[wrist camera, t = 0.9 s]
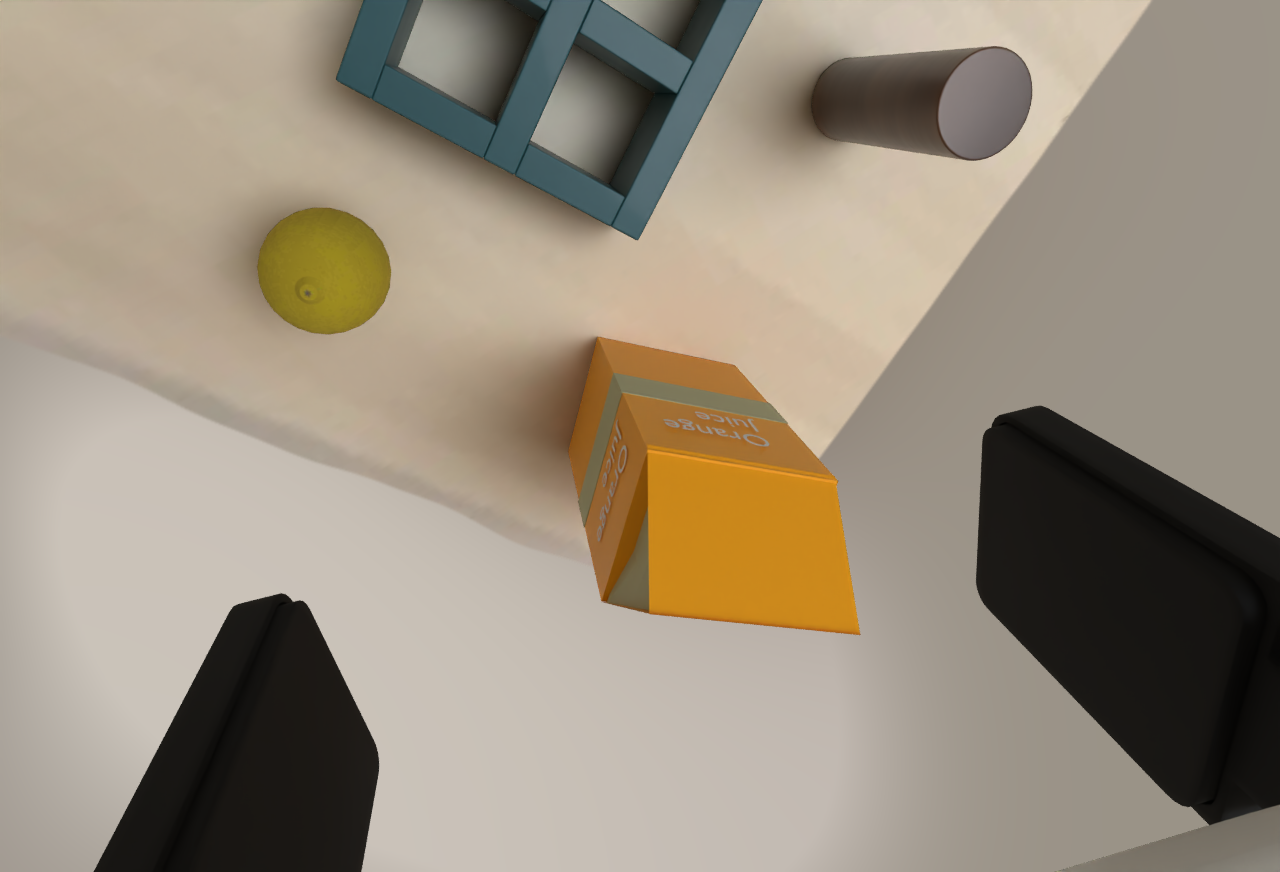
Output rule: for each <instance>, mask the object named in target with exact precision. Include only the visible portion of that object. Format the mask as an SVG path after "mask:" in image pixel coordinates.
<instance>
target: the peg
mask: <svg viewBox="0 0 1280 872" xmlns="http://www.w3.org/2000/svg"><path fill="white" fill-rule="evenodd" d="M1031 100H1032V81H1031V76H1030V73H1029V70H1028V68H1027V66H1026V64H1025V63H1024V61H1023V60H1022V59H1021V58H1020V57H1019V56H1018V55H1017V54H1016V53H1015V52H1013V51H1012V50H1009V49H1007V48H1004V47H997V46H991V47H979V48H967V49H954V50H942V51H930V52H917V53H905V54H892V55H880V56H868V57H855V58H846V59H842V60H840V61H837V62H836V63H834V64H832V65H831V66H830V67H829V68H827V69H826V70H825V72H824V73H823V74H822V75H821V77H820V78H819V80H818V82H817V84H816V86H815V89H814V93H813V97H812V113H813V117H814V120H815V123H816V125H817V126H818V128H819V129H820V131H821V132H822V133H823V134H824V135H826V136H827V137H829V138H831V139H833V140H837V141H844V142H850V143H857V144H863V145H870V146H877V147H883V148H890V149H896V150H903V151H909V152H916V153H923V154H929V155H936V156H942V157H949V158H956V159H962V160H970V161H976V160H982V159H986V158H989V157H991V156H993V155H995V154H997V153H998V152H1000V151H1001V150H1003V149H1004V148H1005V147H1006V146H1008V145H1009V144H1010V143H1011V142H1012V141H1013V139H1014V138H1015V137H1016V136H1017V134H1018V133H1019V132H1020V130H1021V128H1022V127H1023V125H1024V123H1025V120H1026V118H1027V116H1028V113H1029V109H1030V106H1031Z"/></svg>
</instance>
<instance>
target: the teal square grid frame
mask: <svg viewBox="0 0 1280 872" xmlns="http://www.w3.org/2000/svg"><path fill="white" fill-rule="evenodd" d="M505 1H506V2H508V3H510V4H511V5H513V6H514V7H516V8H518V9H519V10H521V11H522V12H524V13H526V14H527V15H529V16H530V17H532V18H534V19H535V20H537V21H538V24H537V26H536V28H535V31H534V33H533V35H532V38H531V40H530V42H529V45H528V47H527V49H526V52H525V54H524V56H523V59H522V61H521V63H520V66H519V68H518V70H517V73H516V75H515V77H514V80H513V82H512V84H511V87H510V89H509V91H508V94H507V96H506V98H505V101H504V103H503V105H502V108H501V110H500V112H499V115H498V117H497V119H496V122H495V121H494V120H493V119H491V118H489V117H487V116H485V115H484V114H482V113H480V112H478V111H476V110H475V109H473V108H471V107H469V106H467V105H466V104H464V103H462V102H460V101H458V100H457V99H455V98H453V97H451V96H449V95H448V94H446V93H444V92H442V91H440V90H439V89H437V88H435V87H433V86H431V85H430V84H428V83H426V82H424V81H422V80H421V79H419V78H417V77H415V76H413V75H412V74H410V73H408V72H406V71H404V70H403V69H401V68H399V67H398V65H399V63H400V60H401V57H402V55H403V52H404V49H405V47H406V44H407V42H408V39H409V36H410V34H411V31H412V28H413V26H414V23H415V20H416V18H417V15H418V12H419V10H420V7H421V4H422V2H423V0H363V3H362V6H361V9H360V11H359V14H358V17H357V20H356V23H355V26H354V28H353V31H352V34H351V37H350V40H349V43H348V45H347V48H346V51H345V54H344V57H343V60H342V62H341V65H340V68H339V71H338V74H337V77H336V80H337V81H338V82H340V83H342V84H344V85H345V86H347V87H349V88H351V89H353V90H355V91H357V92H359V93H360V94H362V95H364V96H366V97H368V98H371V99H372V100H374V101H375V102H377V103H379V104H381V105H383V106H385V107H387V108H389V109H390V110H392V111H394V112H396V113H398V114H400V115H402V116H404V117H406V118H407V119H409V120H411V121H413V122H415V123H417V124H419V125H421V126H422V127H424V128H426V129H428V130H430V131H432V132H434V133H436V134H437V135H439V136H441V137H443V138H445V139H447V140H449V141H451V142H453V143H454V144H456V145H458V146H460V147H462V148H464V149H466V150H468V151H469V152H471V153H473V154H475V155H477V156H479V157H481V158H483V157H484V159H485V160H487V161H488V162H490V163H492V164H494V165H496V166H498V167H500V168H502V169H503V170H505V171H507V172H509V173H511V174H515V176H517V177H518V178H520V179H522V180H524V181H526V182H528V183H530V184H532V185H533V186H535V187H537V188H539V189H541V190H543V191H545V192H547V193H549V194H550V195H552V196H554V197H556V198H558V199H560V200H562V201H564V202H565V203H567V204H569V205H571V206H573V207H575V208H577V209H579V210H580V211H582V212H584V213H586V214H588V215H590V216H592V217H594V218H596V219H597V220H599V221H601V222H603V223H605V224H607V225H609V226H611V227H613V228H614V229H616V230H618V231H620V232H622V233H624V234H626V235H628V236H629V237H631V238H633V239H635V240H638V239H639V238H640V236H641V234H642V232H643V230H644V228H645V226H646V224H647V222H648V220H649V219H650V217H651V215H652V213H653V211H654V209H655V207H656V205H657V203H658V201H659V199H660V197H661V195H662V193H663V192H664V190H665V188H666V186H667V184H668V182H669V180H670V178H671V176H672V174H673V172H674V170H675V168H676V166H677V165H678V163H679V161H680V159H681V157H682V155H683V153H684V151H685V149H686V147H687V145H688V143H689V141H690V139H691V138H692V136H693V134H694V132H695V130H696V128H697V126H698V124H699V122H700V120H701V118H702V116H703V114H704V112H705V111H706V109H707V107H708V105H709V103H710V101H711V99H712V97H713V95H714V93H715V91H716V89H717V87H718V85H719V84H720V82H721V80H722V78H723V76H724V74H725V72H726V70H727V68H728V66H729V64H730V62H731V60H732V58H733V57H734V55H735V53H736V51H737V49H738V47H739V45H740V43H741V41H742V39H743V37H744V35H745V33H746V31H747V30H748V28H749V26H750V24H751V22H752V20H753V18H754V16H755V14H756V12H757V10H758V8H759V6H760V4H761V3H762V1H763V0H700V2H699V4H698V6H697V8H696V10H695V12H694V14H693V16H692V18H691V20H690V22H689V24H688V26H687V28H686V30H685V32H684V34H683V36H682V38H681V40H680V43H679V45H678V47H677V49H674V48H673V47H671V46H670V45H668V44H667V43H665V42H664V41H662V40H661V39H659V38H657V37H656V36H654V35H653V34H651V33H650V32H648V31H647V30H645V29H644V28H642V27H641V26H639V25H638V24H636V23H635V22H633V21H632V20H630V19H629V18H627V17H626V16H624V15H622V14H621V13H619V12H618V11H616V10H615V9H613V8H612V7H610V6H609V5H607V4H606V3H604V2H603V1H601V0H505ZM573 43H574V44H575V45H577V46H579V47H580V48H582V49H583V50H585V51H587V52H588V53H590V54H591V55H593V56H595V57H596V58H598V59H599V60H601V61H603V62H604V63H606V64H608V65H609V66H611V67H612V68H614V69H616V70H617V71H619V72H620V73H622V74H624V75H625V76H627V77H628V78H630V79H632V80H633V81H635V82H636V83H638V84H640V85H641V86H643V87H644V88H646V89H648V90H649V91H651V92H652V93H654V95H653V97H652V99H651V101H650V103H649V105H648V107H647V110H646V112H645V114H644V116H643V118H642V120H641V122H640V124H639V126H638V128H637V130H636V132H635V134H634V136H633V138H632V140H631V142H630V144H629V146H628V148H627V150H626V152H625V154H624V156H623V158H622V160H621V162H620V164H619V166H618V168H617V170H616V172H615V174H614V176H613V179H612V181H611V183H610V185H609V184H608V183H606V182H604V181H602V180H601V179H599V178H597V177H595V176H593V175H592V174H590V173H588V172H586V171H584V170H583V169H581V168H579V167H577V166H575V165H574V164H572V163H570V162H568V161H566V160H565V159H563V158H561V157H559V156H557V155H556V154H554V153H552V152H550V151H548V150H547V149H545V148H543V147H541V146H539V145H538V144H536V143H534V142H532V141H530V139H531V137H532V135H533V133H534V130H535V128H536V126H537V124H538V122H539V119H540V117H541V115H542V113H543V110H544V108H545V106H546V104H547V101H548V99H549V97H550V95H551V93H552V90H553V88H554V86H555V84H556V81H557V79H558V77H559V75H560V72H561V70H562V68H563V66H564V64H565V61H566V59H567V57H568V55H569V52H570V50H571V48H572V46H573Z"/></svg>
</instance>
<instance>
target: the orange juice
mask: <svg viewBox="0 0 1280 872" xmlns="http://www.w3.org/2000/svg"><path fill="white" fill-rule="evenodd" d="M568 453H569V458H570V462H571V467H572V471H573V476H574V480H575V485H576V489H577V494H578V498H579V501H578V503H579V507H580V512H581V516H582V521H583V525H584V527H585V530H586V534H587V539H588V543H589V548H590V552H591V557H592V561H593V566H594V570H595V575H596V579H597V583H598V588H599V592H600V597H601V601H604V602H605V603H608V604H612V605H616V606H620V607H624V608H628V609H633V610H637V611H641V612H645V613H649V614H654V615H664V616H674V617H684V618H694V619H704V620H714V621H725V622H734V623H744V624H754V625H764V626H775V627H785V628H795V629H805V630H815V631H825V632H835V633H845V634H856V635H860V631H859V624H858V618H857V612H856V606H855V601H854V593H853V587H852V581H851V575H850V568H849V563H848V556H847V550H846V544H845V537H844V531H843V525H842V519H841V513H840V506H839V500H838V494H837V488H836V486H837V483H838V480H837V479H836V478H835V476H833V475H832V474H831V473H830V472H829V470H828V469H827V468H826V467H825V466H824V465H823V464H822V462H821V461H820V460H819V459H818V458H817V457H816V456H815V455H814V454H813V452H812V451H811V450H810V449H809V448H808V447H807V446H806V445H805V443H804V442H803V441H802V440H801V439H800V438H799V437H798V436H797V434H796V433H795V432H794V431H793V430H792V429H791V428H790V427H789V425H788V423H787V422H786V421H785V419H784V418H783V417H782V416H781V415H780V414H779V413H778V412H777V410H776V409H775V408H774V407H773V406H772V405H771V404H770V403H768V402H767V401H766V400H765V399H764V397H763V396H762V395H761V394H760V393H759V392H758V391H757V390H756V388H755V387H754V386H753V385H752V384H751V383H750V382H749V381H748V380H747V378H746V377H745V376H744V375H743V374H742V373H741V372H740V371H739V369H738V368H737V367H736V366H735V365H730V364H725V363H721V362H716V361H711V360H706V359H702V358H697V357H692V356H687V355H683V354H678V353H673V352H668V351H663V350H659V349H654V348H649V347H644V346H640V345H635V344H630V343H625V342H620V341H616V340H611V339H606V338H601V337H597V341H596V345H595V349H594V353H593V357H592V361H591V365H590V368H589V372H588V376H587V380H586V384H585V388H584V392H583V396H582V400H581V403H580V407H579V411H578V415H577V419H576V423H575V427H574V431H573V434H572V438H571V442H570V446H569V450H568Z"/></svg>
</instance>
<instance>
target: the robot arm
mask: <svg viewBox="0 0 1280 872" xmlns="http://www.w3.org/2000/svg"><path fill="white" fill-rule="evenodd" d="M980 485H981V486H980V506H979V528H978V550H977V572H976V585H977V590H978V593H979V595H980V598H981V600H982V601H983V603H984V605H985V606H986V607H987V608H988V609H989V610H990V611H991V613H992V614H993V615H994V616H995V617H996V618H997V619H998V620H999V621H1000V622H1001V623H1002V624H1003V625H1004V626H1005V627H1006V628H1007V629H1008V630H1009V631H1010V632H1011V633H1012V634H1013V635H1014V636H1015V637H1016V638H1017V639H1018V641H1020V643H1021V644H1022V645H1023V646H1024V647H1025V648H1026V649H1027V650H1028V651H1029V652H1030V653H1031V654H1032V655H1033V656H1034V657H1035V658H1036V659H1037V660H1038V661H1039V662H1040V663H1041V664H1042V665H1043V666H1044V667H1045V668H1046V670H1047V671H1048V672H1049V673H1050V674H1051V675H1052V676H1053V677H1054V678H1055V679H1056V680H1057V681H1058V682H1059V683H1060V684H1061V685H1062V686H1063V687H1064V688H1065V689H1066V690H1067V691H1068V692H1069V693H1070V695H1072V696H1073V698H1074V699H1075V700H1076V701H1077V702H1078V703H1079V704H1080V705H1081V706H1082V707H1083V708H1084V709H1085V710H1086V711H1087V712H1088V713H1089V714H1090V715H1091V716H1092V717H1093V718H1094V719H1095V720H1096V721H1097V722H1098V724H1099V725H1100V726H1102V728H1103V729H1104V730H1105V731H1106V732H1107V733H1108V734H1109V735H1110V736H1111V737H1112V738H1113V739H1114V740H1115V741H1116V742H1117V743H1118V744H1119V745H1120V746H1121V747H1122V748H1123V749H1124V751H1126V753H1127V754H1128V755H1129V756H1130V757H1131V758H1132V759H1133V760H1134V761H1135V762H1136V763H1137V764H1138V765H1139V766H1140V767H1141V768H1142V769H1143V770H1144V771H1145V772H1146V773H1147V774H1148V775H1149V776H1150V778H1152V780H1154V782H1155V783H1156V784H1157V785H1158V786H1159V787H1160V788H1161V789H1162V790H1163V791H1164V792H1165V793H1166V794H1167V795H1168V796H1169V797H1170V798H1171V799H1172V800H1174V801H1175V802H1177V803H1178V804H1180V805H1182V806H1186V807H1190V806H1191V807H1192V808H1193V809H1194V810H1195V811H1196V812H1197V813H1198V814H1199V815H1200V816H1201V817H1202V818H1203V819H1204V820H1205V821H1206V822H1207V823H1208V824H1209V826H1206V827H1202V828H1199V829H1196V830H1192V831H1189V832H1186V833H1182V834H1179V835H1176V836H1172V837H1169V838H1166V839H1162V840H1159V841H1156V842H1152V843H1149V844H1146V845H1143V846H1139V847H1136V848H1133V849H1129V850H1126V851H1123V852H1119V853H1116V854H1112V855H1109V856H1106V857H1102V858H1099V859H1096V860H1093V861H1089V862H1086V863H1083V864H1079V865H1076V866H1073V867H1069V868H1066V869H1063V870H1060V871H1056V872H1280V538H1279V537H1277V536H1275V535H1273V534H1272V533H1270V532H1268V531H1266V530H1264V529H1263V528H1261V527H1259V526H1257V525H1255V524H1254V523H1252V522H1250V521H1248V520H1247V519H1245V518H1243V517H1241V516H1239V515H1238V514H1236V513H1234V512H1232V511H1231V510H1229V509H1226V508H1225V507H1223V506H1222V505H1220V504H1218V503H1216V502H1214V501H1213V500H1211V499H1209V498H1207V497H1206V496H1203V495H1202V494H1200V493H1198V492H1197V491H1194V490H1193V489H1191V488H1189V487H1187V486H1186V485H1184V484H1182V483H1180V482H1179V481H1177V480H1175V479H1173V478H1172V477H1170V476H1168V475H1166V474H1164V473H1163V472H1161V471H1159V470H1157V469H1156V468H1154V467H1152V466H1150V465H1148V464H1147V463H1145V462H1143V461H1141V460H1139V459H1137V458H1136V457H1134V456H1132V455H1130V454H1129V453H1127V452H1125V451H1123V450H1122V449H1120V448H1118V447H1116V446H1114V445H1113V444H1110V443H1109V442H1107V441H1106V440H1104V439H1102V438H1100V437H1098V436H1097V435H1095V434H1093V433H1091V432H1089V431H1088V430H1086V429H1084V428H1082V427H1080V426H1079V425H1077V424H1075V423H1073V422H1072V421H1070V420H1068V419H1066V418H1064V417H1063V416H1061V415H1059V414H1057V413H1056V412H1054V411H1052V410H1050V409H1048V408H1046V407H1043V406H1034V407H1030V408H1027V409H1022V410H1018V411H1014V412H1010V413H1006V414H1002V415H999V416H998V417H997V418H995V420H994V422H993V423H992V427H991V428H989V429H988V430H986V431H985V433H984V435H983V441H982V462H981V484H980ZM378 773H379V757H378V751H377V747H376V744H375V742H374V740H373V738H372V736H371V734H370V731H369V730H368V728H367V725H366V723H365V721H364V719H363V717H362V716H361V713H360V711H359V709H358V707H357V705H356V703H355V701H354V699H353V697H352V695H351V693H350V691H349V689H348V686H347V685H346V682H345V680H344V678H343V676H342V674H341V672H340V670H339V668H338V666H337V664H336V662H335V660H334V658H333V656H332V654H331V652H330V650H329V648H328V646H327V644H326V641H325V639H324V637H323V635H322V633H321V631H320V629H319V627H318V625H317V623H316V621H315V619H314V617H313V615H312V613H311V611H310V609H309V607H308V606H307V604H306V603H305V602H303V601H295V602H293V601H292V600H291V599H290V598H289V597H288V596H287V595H286V594H282V593H281V594H277V595H273V596H269V597H265V598H261V599H257V600H253V601H249V602H245V603H241V604H238V605H236V606H234V607H233V608H232V609H231V611H230V612H229V614H228V616H227V618H226V620H225V622H224V623H223V625H222V627H221V629H220V631H219V633H218V635H217V637H216V639H215V641H214V643H213V644H212V646H211V648H210V650H209V652H208V654H207V656H206V658H205V660H204V662H203V664H202V665H201V667H200V670H199V671H198V673H197V675H196V677H195V679H194V681H193V683H192V685H191V687H190V688H189V691H188V693H187V694H186V696H185V698H184V700H183V702H182V704H181V706H180V708H179V710H178V711H177V713H176V715H175V717H174V719H173V721H172V723H171V725H170V727H169V729H168V731H167V733H166V734H165V737H164V738H163V740H162V742H161V744H160V746H159V748H158V750H157V752H156V754H155V756H154V757H153V759H152V761H151V763H150V765H149V767H148V769H147V771H146V773H145V775H144V776H143V778H142V780H141V782H140V784H139V786H138V788H137V790H136V792H135V794H134V796H133V798H132V799H131V801H130V803H129V805H128V807H127V809H126V811H125V813H124V815H123V817H122V819H121V820H120V822H119V824H118V826H117V828H116V830H115V832H114V834H113V836H112V838H111V840H110V842H109V844H108V846H107V847H106V849H105V851H104V853H103V855H102V857H101V859H100V861H99V863H98V864H97V867H96V868H95V870H94V872H361V870H362V865H363V859H364V853H365V848H366V842H367V836H368V831H369V825H370V819H371V814H372V808H373V801H374V796H375V790H376V785H377V779H378Z"/></svg>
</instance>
